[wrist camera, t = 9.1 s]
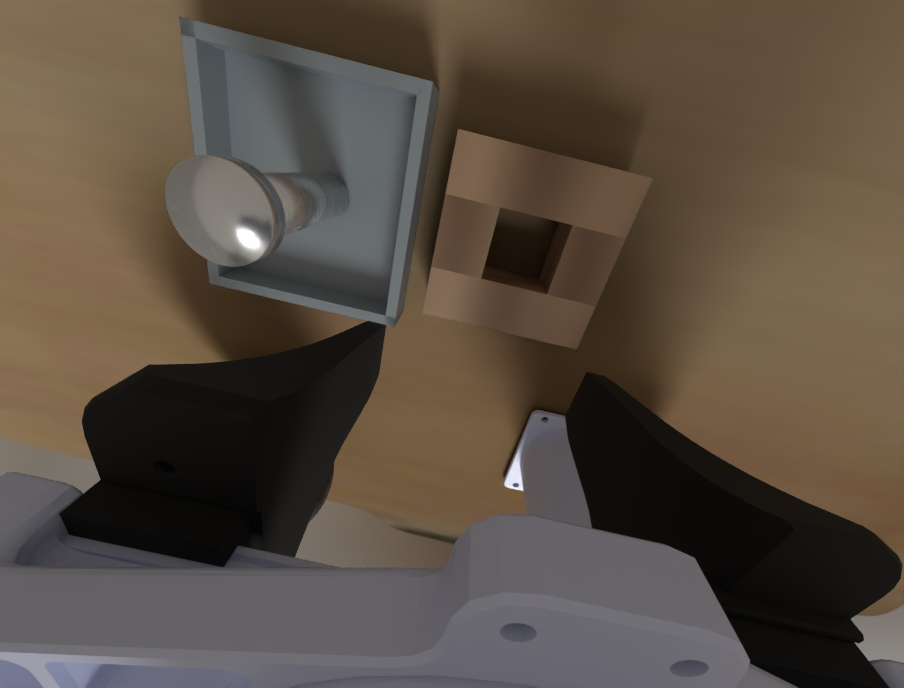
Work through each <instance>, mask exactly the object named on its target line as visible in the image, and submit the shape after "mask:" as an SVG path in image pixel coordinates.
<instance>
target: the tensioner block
mask: <svg viewBox="0 0 904 688" xmlns="http://www.w3.org/2000/svg"><path fill="white" fill-rule="evenodd" d="M652 180H653V178H650V177H646V176H643V175H639V174H635V173H631V172H627V171H623V170H619V169H615V168H611V167H607V166H603V165H599V164H595V163H591V162H587V161H583V160H579V159H575V158H571V157H568V156H564V155H560V154H556V153H552V152H548V151H544V150H540V149H536V148H532V147H528V146H524V145H520V144H516V143H512V142H508V141H504V140H500V139H496V138H493V137H489V136H485V135H481V134H477V133H473V132H469V131H465V130H461V129H458V132H457V137H456V142H455V147H454V152H453V157H452V163H451V168H450V173H449V178H448V183H447V188H446V193H445V198H444V204H443V209H442V214H441V219H440V224H439V229H438V234H437V239H436V245H435V250H434V255H433V260H432V265H431V270H430V275H429V281H428V286H427V291H426V296H425V301H424V306H423V311H422V313H423V314H428V315H432V316H436V317H440V318H445V319H449V320H453V321H457V322H462V323H466V324H470V325H474V326H478V327H483V328H487V329H491V330H495V331H500V332H504V333H508V334H512V335H517V336H521V337H525V338H529V339H533V340H538V341H542V342H546V343H550V344H555V345H559V346H563V347H567V348H572V349H576V350H577V348H578V346H579V343H580V341H581V339H582V337H583V334H584V332H585V330H586V328H587V326H588V323H589V321H590V319H591V317H592V314H593V312H594V310H595V308H596V305H597V303H598V301H599V299H600V296H601V294H602V292H603V290H604V287H605V285H606V283H607V281H608V279H609V276H610V274H611V272H612V270H613V267H614V265H615V263H616V261H617V258H618V256H619V254H620V252H621V249H622V247H623V245H624V243H625V240H626V238H627V236H628V234H629V232H630V229H631V227H632V225H633V223H634V220H635V218H636V216H637V214H638V211H639V209H640V207H641V205H642V202H643V200H644V198H645V196H646V193H647V191H648V189H649V187H650V184H651V182H652ZM500 207H501V208H505V209H509V210H513V211H517V212H521V213H525V214H529V215H533V216H537V217H541V218H545V219H549V220H553V221H557V222H558V225H557V228H556V231H555V234H554V237H553V240H552V242H551V245H550V248H549V251H548V254H547V257H546V260H545V262H544V265H543V268H542V271H541V274H540V277H539V278H535V277H531V276H526V275H522V274H518V273H514V272H510V271H506V270H502V269H497V268H493V267H489V266H485V263H486V259H487V255H488V251H489V248H490V244H491V240H492V236H493V233H494V229H495V225H496V222H497V218H498V214H499V210H500Z"/></svg>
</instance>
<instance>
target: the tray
mask: <svg viewBox="0 0 904 688" xmlns="http://www.w3.org/2000/svg"><path fill="white" fill-rule="evenodd" d="M179 18H180V26H181V35H182V44H183V53H184V62H185V71H186V79H187V88H188V97H189V106H190V115H191V124H192V133H193V141H194V150H195V155H214V156H229V157H234V158H238V159H241V160H243V161H245V162H247V163H249V164H251V165H252V166H254V167H255V168H256V169H258V170H259V171H260V172H261V173H266V172H330V173H333V174H335V175H337V176H338V177H339V178H341V179H342V180H343V182H344V183H345V185H346V186H347V189H348V191H349V197H350V202H349V206H348V209H347V211H346V212H345V213H344V214H343V215H342V216H340V217H338V218H335V219H332V220H329V221H326V222H323V223H320V224H317V225H314V226H311V227H308V228H305V229H302V230H299V231H296V232H293V233H290V234H287V235H284V237H283V239H282V242H281V243H280V245H279V247H278V248H277V249H276V250H275V251H274V252H273V253H272V254H270V255H269V256H267V257H265V258H262V259H260V260H257V261H255V262H252V263H250V264H247V265H244V266H238V267H229V266H223V265H219V264H216V263H214V262H211V261H209V260H207V265H208V274H209V283H210V284H213V285H217V286H221V287H226V288H230V289H234V290H238V291H243V292H247V293H251V294H255V295H260V296H264V297H268V298H273V299H277V300H281V301H285V302H290V303H294V304H298V305H302V306H307V307H311V308H315V309H319V310H324V311H328V312H332V313H336V314H341V315H345V316H349V317H354V318H358V319H362V320H366V321H371V322H376V323H380V324H384V325H388V326H392V327H395V325H396V323H397V321H398V319H399V318H400V316H401V314H402V312H403V308H404V302H405V296H406V290H407V284H408V278H409V272H410V266H411V260H412V254H413V248H414V242H415V236H416V230H417V224H418V218H419V212H420V206H421V200H422V194H423V188H424V182H425V176H426V170H427V164H428V158H429V152H430V146H431V140H432V134H433V128H434V122H435V116H436V110H437V104H438V98H439V91H438V90H437V88H436V86H435V84H434V83H433V81H429V80H425V79H421V78H417V77H413V76H409V75H405V74H401V73H398V72H394V71H390V70H386V69H382V68H378V67H374V66H370V65H366V64H362V63H359V62H355V61H351V60H347V59H343V58H339V57H335V56H331V55H327V54H324V53H320V52H316V51H312V50H308V49H304V48H300V47H296V46H292V45H289V44H285V43H281V42H277V41H273V40H269V39H265V38H261V37H257V36H254V35H250V34H246V33H242V32H238V31H234V30H230V29H226V28H222V27H218V26H215V25H211V24H207V23H203V22H199V21H195V20H191V19H187V18H183V17H180V16H179Z"/></svg>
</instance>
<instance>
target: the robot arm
mask: <svg viewBox="0 0 904 688" xmlns="http://www.w3.org/2000/svg"><path fill="white" fill-rule="evenodd" d="M385 329H386V325H384V324H380V323H376V322H371V321H367V322H364V323H362V324H360V325H357V326H355V327H353V328H351V329H348V330H346V331H344V332H341V333H339V334H337V335H335V336H332V337H329V338H327V339H324V340H321V341H319V342H316V343H313V344H310V345H307V346H304V347H301V348H298V349H294V350H290V351H286V352H282V353H278V354H273V355H267V356H261V357H256V358H250V359H244V360H235V361H227V362H215V363H201V364H168V365H148V366H146V367H144V368H143V369H141V370H139V371H138V372H136V373H134V374H132V375H131V376H129V377H127V378H126V379H124V380H122V381H121V382H119V383H117V384H116V385H114V386H112V387H110V388H109V389H107V390H105V391H104V392H102V393H100V394H99V395H97V396H95V397H94V398H92V399H91V401H90V402H89V403H88V404H87V405H86V407H85V409H84V414H83V418H82V425H83V430H84V435H85V438H86V441H87V444H88V446H89V449H90V452H91V455H92V457H93V460H94V463H95V465H96V468H97V471H98V473H99V476H100V479H101V480H100V481H99V482H97V483H96V484H95V485H94V486H93V487H91V488H90V489H89V490H88V491H86V492H85V493H84V494H83V493H82V492H81V491H80V490H78V489H77V488H75V487H74V486H72V485H69V484H67V483H64V482H59V481H54V480H49V479H45V478H40V477H36V476H31V475H26V474H22V473H17V472H7V473H5V474H4V475H2V476H0V688H904V663H901V662H897V661H892V660H883V659H880V660H872V661H868V660H867V658H866V657H865V656H864V654H863V653H862V652H861V651H860V649H859V648H858V647H857V646H856V644H855V643H854V642H857V643H860V642H862V641H863V640H864V638H863V634H862V633H861V632H860V631H859V629H858V628H857V627H856V626H855V625H854V623H853V622H852V621H851V618H852V617H854V616H855V615H857V614H858V613H860V612H861V611H863V610H864V609H866V608H867V607H869V606H870V605H872V604H873V603H875V602H876V601H878V600H879V599H881V598H882V597H884V596H885V595H886V594H887V593H889V592H890V591H891V590H892V589H893V588H894V587H895V586H896V584H897V583H898V581H899V580H900V578H901V571H902V563H901V561H900V559H899V557H898V555H897V554H896V553H895V552H894V551H893V550H892V549H890V548H889V547H888V546H887V545H886V544H885V543H884V542H883V541H882V540H881V539H880V538H879V537H878V536H877V535H875V534H874V533H873V532H871V531H870V530H868V529H867V528H865V527H863V526H861V525H859V524H856V523H854V522H852V521H849V520H847V519H845V518H842V517H840V516H837V515H835V514H833V513H830V512H828V511H826V510H823V509H821V508H819V507H816V506H814V505H811V504H809V503H807V502H804V501H802V500H800V499H798V498H796V497H794V496H792V495H790V494H787V493H785V492H783V491H781V490H779V489H777V488H775V487H773V486H771V485H769V484H767V483H765V482H763V481H761V480H759V479H757V478H755V477H753V476H751V475H749V474H747V473H746V472H744V471H742V470H740V469H738V468H736V467H735V466H733V465H731V464H729V463H727V462H726V461H724V460H722V459H720V458H719V457H717V456H715V455H714V454H712V453H710V452H709V451H707V450H706V449H704V448H702V447H701V446H699V445H698V444H696V443H695V442H693V441H691V440H690V439H688V438H687V437H685V436H684V435H682V434H681V433H680V432H678V431H677V430H675V429H674V428H673V427H671V426H670V425H668V424H667V423H666V422H664V421H663V420H662V419H660V418H659V417H658V416H656V415H655V414H654V413H652V412H651V411H650V410H649V409H647V408H646V407H645V406H643V405H642V404H641V403H640V402H638V401H637V400H636V399H635V398H633V397H632V396H631V395H630V394H628V393H627V392H626V391H624V390H623V389H622V388H621V387H619V386H618V385H617V384H615V383H614V382H612V381H611V380H609V379H608V378H606V377H604V376H602V375H597V374H593V373H589V372H586V374H585V376H584V379H583V381H582V383H581V385H580V387H579V389H578V391H577V393H576V395H575V397H574V399H573V401H572V404H571V406H570V408H569V410H568V412H567V414H566V416H563V415H559V414H555V413H550V412H546V411H542V410H535V411H533V412H532V413H531V415H530V418H529V420H528V422H527V425H526V427H525V430H524V432H523V434H522V437H521V439H520V442H519V444H518V446H517V449H516V451H515V454H514V456H513V458H512V461H511V463H510V466H509V468H508V470H507V473H506V475H505V478H504V485H505V486H506V487H508V488H513V489H517V490H522V491H523V494H524V502H525V510H526V515H525V514H498V515H495V516H492V517H489V518H486V519H483V520H480V521H477V522H475V523H473V524H471V525H470V526H469V528H468V529H467V530H466V531H465V532H464V533H463V534H462V535H461V537H460V538H459V539H458V540H457V541H456V543H455V546H454V548H453V551H452V554H451V557H450V560H449V562H448V563H447V565H446V567H445V568H341V567H336V566H332V565H327V564H322V563H317V562H313V561H308V560H303V559H298V558H295V555H296V553H297V550H298V548H299V545H300V542H301V540H302V537H303V535H304V532H305V530H306V527H307V525H308V522H309V520H310V518H311V515H312V513H313V510H314V508H315V505H316V503H317V500H318V498H319V496H320V493H321V491H322V489H323V486H324V484H325V481H326V479H327V477H328V475H329V472H330V470H331V468H332V465H333V463H334V461H335V459H336V456H337V454H338V452H339V450H340V448H341V446H342V444H343V443H344V441H345V439H346V437H347V436H348V434H349V432H350V431H351V429H352V427H353V425H354V424H355V422H356V420H357V418H358V417H359V415H360V413H361V411H362V410H363V408H364V406H365V404H366V403H367V401H368V399H369V397H370V395H371V393H372V390H373V388H374V385H375V383H376V380H377V378H378V375H379V370H380V363H381V356H382V349H383V342H384V336H385ZM543 417H547V419H542V418H543Z"/></svg>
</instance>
